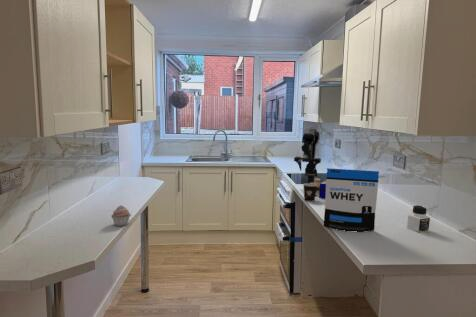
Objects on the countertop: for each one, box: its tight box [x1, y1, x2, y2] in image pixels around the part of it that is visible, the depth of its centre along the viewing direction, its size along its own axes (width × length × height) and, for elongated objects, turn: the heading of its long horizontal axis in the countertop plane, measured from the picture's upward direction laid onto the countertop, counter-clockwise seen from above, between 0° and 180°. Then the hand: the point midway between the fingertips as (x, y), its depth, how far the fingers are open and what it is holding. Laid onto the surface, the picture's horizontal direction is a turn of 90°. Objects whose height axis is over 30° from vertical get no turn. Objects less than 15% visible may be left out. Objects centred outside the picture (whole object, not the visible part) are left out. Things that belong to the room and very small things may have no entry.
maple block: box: [314, 177, 322, 185], centre depth 256 cm, size 4×4×4 cm
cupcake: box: [110, 204, 132, 227], centre depth 172 cm, size 9×9×10 cm
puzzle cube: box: [318, 180, 326, 200], centre depth 232 cm, size 10×10×10 cm
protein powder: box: [323, 167, 380, 233], centre depth 171 cm, size 10×24×30 cm, turn 77°
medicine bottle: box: [406, 204, 431, 233], centre depth 173 cm, size 7×7×12 cm
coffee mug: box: [303, 182, 323, 202], centre depth 223 cm, size 12×9×10 cm
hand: (306, 171), depth 254 cm, fingers open, 9 cm apart
